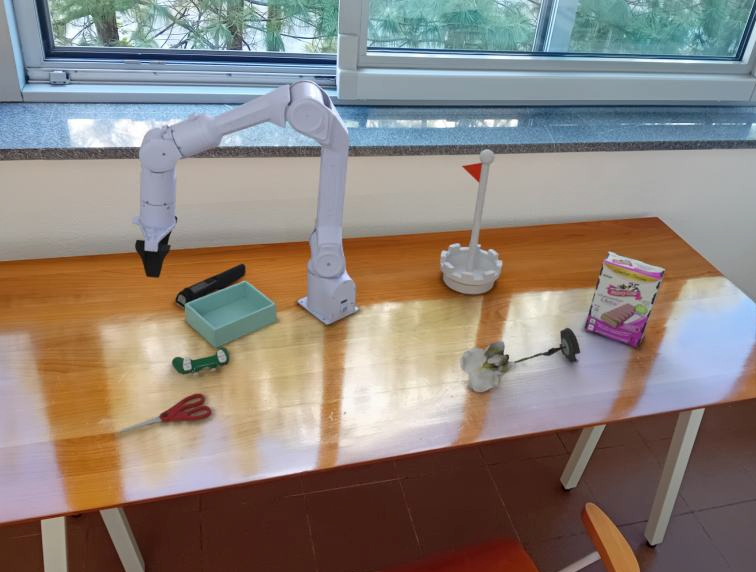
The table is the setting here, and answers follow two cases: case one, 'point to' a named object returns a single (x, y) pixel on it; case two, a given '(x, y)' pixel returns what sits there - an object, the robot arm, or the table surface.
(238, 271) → the electric trimmer
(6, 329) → the table surface
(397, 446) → the table surface
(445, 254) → the flag stand
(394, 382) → the table surface
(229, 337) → the tub
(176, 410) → the scissors
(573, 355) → the artificial flower
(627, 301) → the candy bar box
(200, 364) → the gaming controller
